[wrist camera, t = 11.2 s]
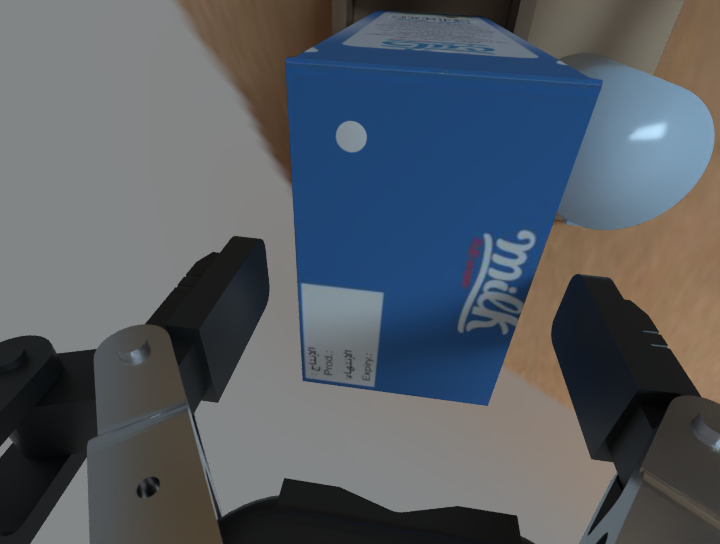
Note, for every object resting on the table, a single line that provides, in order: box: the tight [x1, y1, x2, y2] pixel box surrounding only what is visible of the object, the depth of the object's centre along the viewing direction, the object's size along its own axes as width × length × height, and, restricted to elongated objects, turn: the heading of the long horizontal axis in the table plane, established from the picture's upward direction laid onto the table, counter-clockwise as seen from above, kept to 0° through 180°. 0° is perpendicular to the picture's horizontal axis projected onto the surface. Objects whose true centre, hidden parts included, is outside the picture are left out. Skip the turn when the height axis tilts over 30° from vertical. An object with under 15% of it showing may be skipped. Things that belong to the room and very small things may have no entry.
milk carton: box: [286, 10, 603, 406], centre depth 19 cm, size 10×6×20 cm, turn 177°
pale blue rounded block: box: [557, 53, 714, 230], centre depth 23 cm, size 7×8×9 cm
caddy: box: [332, 0, 684, 220], centre depth 26 cm, size 19×15×4 cm
